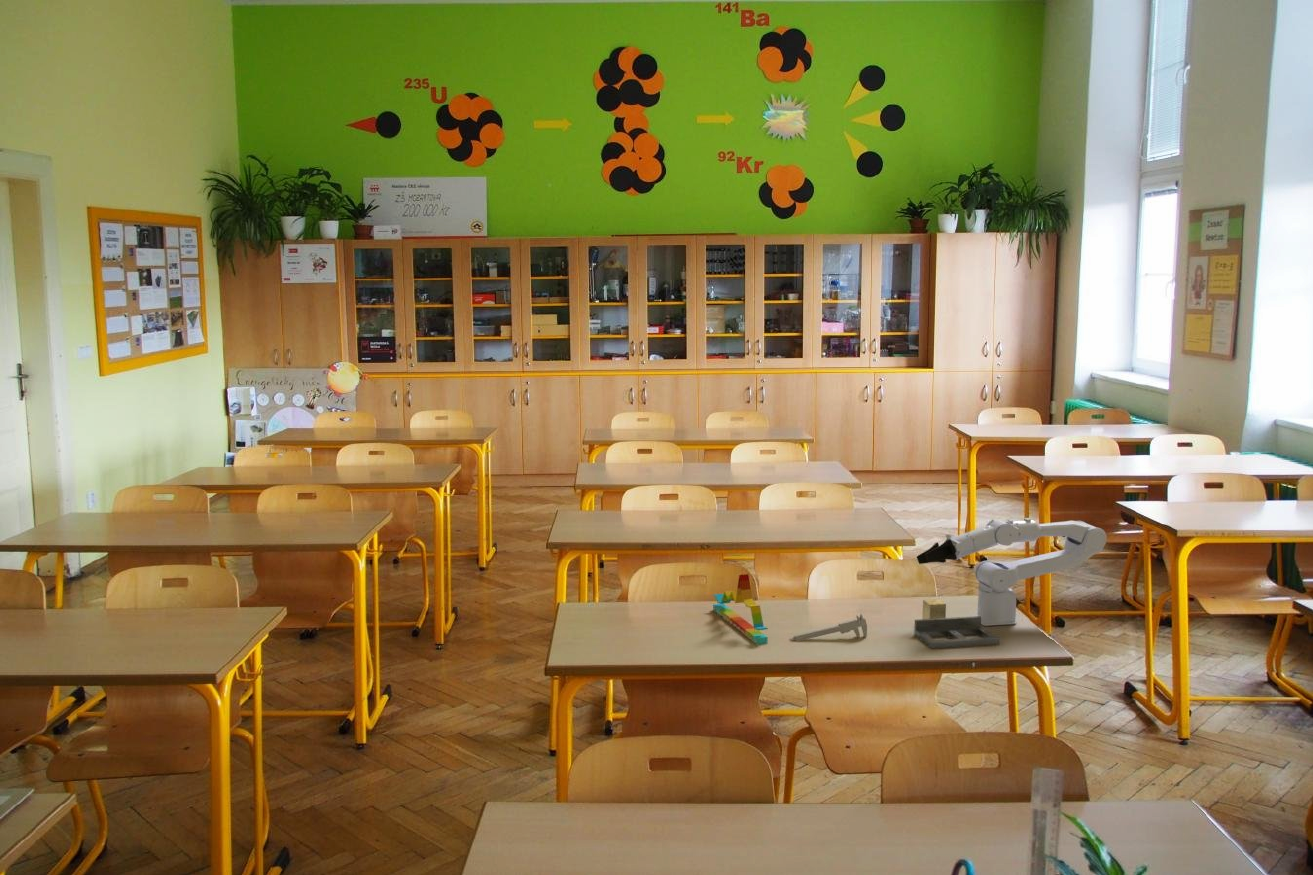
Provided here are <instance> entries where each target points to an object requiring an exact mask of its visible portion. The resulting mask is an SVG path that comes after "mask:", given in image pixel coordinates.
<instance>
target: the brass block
mask: <svg viewBox="0 0 1313 875" xmlns="http://www.w3.org/2000/svg"><path fill="white" fill-rule="evenodd" d="M946 612H947V604H946V602H944V601H942V600H941V599H939V598H933V599H930V598H929V599H922V616H921V617H922V618H921V619H937V618H947V616H946V615H947V614H946Z"/></svg>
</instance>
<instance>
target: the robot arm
mask: <svg viewBox="0 0 1313 875" xmlns="http://www.w3.org/2000/svg"><path fill="white" fill-rule="evenodd" d="M1040 537H1066V538H1065V543H1064V546H1063V549H1061V550H1056V551H1052V552H1049V553H1043V554H1039V555H1034V556H1029V557H1025V558H1021V559H1017V560H1012V561H1005V560H1003V561H1001V560H999V561H990V560H983V561H981V562H980V563H978V564H977V565H976V567H975V568H974V569H975V570H974V575H975V578H976V580H977V581H978V595H977V596H978V597H977V614H976V615H975V614H972V615H970V617H972V616H980V617H981V626H984V627H987V626H988V627H989V626H1002V625H1003V626H1006V625H1017V624H1018V623H1017V621H1016V616H1017V614H1016V611H1017V597H1016V592H1015V591H1014V589H1012V588H1011V587H1014V586H1016V585H1017V584H1018V581H1021V580H1026V579H1030V578H1034V577H1039V576H1043V575H1046V574H1047V575H1048V574H1052V573H1057V572H1060V571H1065V570H1069V569H1073V568H1077V567H1080V566H1081V565H1082V564H1084V563H1085V562H1086V561H1087V560H1089V559H1090V558H1091V557H1093V556H1094V555H1096V554H1101V553H1102V551H1103V549H1104V547H1105V545H1106V543H1107V540H1108V537H1107V533H1106V532H1105V530H1104V529H1103V528H1100V527H1096V526H1094V525H1092V524H1089V523H1086V522H1085V521H1082V520H1066V521H1065V520H1064V521H1056V522H1047V523H1037V522H1036V521H1035V520H1032V519H1031V518H1030V517H1025V518H1023V520H1013V519H1007V520H1006V522H1004V521H1002V520H999V519H997V520H994V519H991V520H990V521H989V522H987V524H986V525H985V526H982V527H979V528H976V529H972V530H971V531H966V532H965V533H962V534H961V533H960V534H958V535H956V536H953V537H952V535H951V534H950V533H948V534H945V538H946V539H945V541H944V542H942V543H941V544H940V543H939V542H935V543H934V544H933V545H932V546H931V547H930V548H928V549H927V550H925V551H924V552H921V553H920V554H918V555H916V559H917V562H918V564H919V565H921V564H928V563H929V564H930V563H943V564H944V563H947V560H952V561H958V560H959V559H961V558H963V557H967V556H969V555H972V554H974V553H978V552H981V551H984V550H988V549H990V548H993V547H995V546H998V545H1001V546H1006V547H1009V546H1011V545H1012V544H1013V543H1028V542H1029V543H1030V542H1035V541H1037V540H1038V539H1039V538H1040ZM939 544H940V545H939Z"/></svg>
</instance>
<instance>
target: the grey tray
mask: <svg viewBox="0 0 1313 875" xmlns="http://www.w3.org/2000/svg"><path fill="white" fill-rule="evenodd" d="M913 628H914V630H913V635H914V636H915V637H916V638H918V639H919V640H920V639H921V642H923V643H924V644H925V643H926V645H927V646H928V647H929V648H931V649H934V650H935V649H948V648H965V647H979V646H980V647H982V646H993V645H994V646H996V645H1000V638H999V637H997V636H996V635H994V634H993V633H992V632H990V631H988V630H987V629H985V628H984V627H982V624H981V617H980V616H972V617H971V616H959V617H946V618H937V619H922V618H920V619H914V627H913ZM973 635H977V636H979V637H965V636H973ZM942 637H948V638H949V639H948V638H947V639H937V640H936V639H934V638H942Z"/></svg>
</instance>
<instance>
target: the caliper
mask: <svg viewBox="0 0 1313 875" xmlns="http://www.w3.org/2000/svg"><path fill="white" fill-rule="evenodd" d="M855 618H856V619H854V618H853V619H851V620H847V621H842V622H839V623H838V624H836V625H831V626H828V627H827V626H826V627H824V628H820V629H815V630H811V631H806V632H802V633H797V634H793V637H790V638H789V639H788V640H789V641H790V642H793V641H794V642H797V641H798V640H801V641H805V640H810V639H813V638H817V637H822V636H826V635H830V634H834V633H839V632H840V633H841V634H843V635H844V634H846V633H849V632H851V631H853V632H854V633H855V635H856V637H857V638H861V636H860V630H859V627H861V629H862V630H861V631H862V635H863V638H866V637H868V623H867V621H866V620H867V619H866V618H865V617H863V614H862V613H861V614H859V616H858V615H857V614H856V617H855ZM798 642H799V641H798Z"/></svg>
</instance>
